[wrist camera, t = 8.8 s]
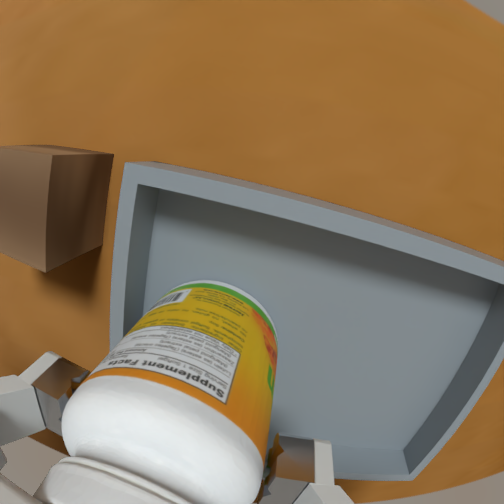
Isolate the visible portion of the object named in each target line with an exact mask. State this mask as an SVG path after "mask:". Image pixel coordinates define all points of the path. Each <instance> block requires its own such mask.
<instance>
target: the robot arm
mask: <svg viewBox="0 0 504 504" xmlns="http://www.w3.org/2000/svg"><path fill="white" fill-rule="evenodd" d="M90 374H91V372H90V371H88V370H86V369H84V368H82V367H80V366H78V365H77V364H75V363H73V362H71V361H69V360H67V359H65V358H63V357H61V356H59V355H57V354H56V353H54V352H52V351H49V352H46V353H45V354H44V355H42V356H41V357H40V358H39V359H38V360H37V361H35V362H34V363H33V364H32V365H31V366H30V367H28V368H27V369H26V370H25V371H24V372H23V373H22V374H20V375H19V376H16V375H10V376H5V377H0V446H2V445H5V444H8V443H10V442H13V441H16V440H19V439H21V438H24V437H26V436H29V435H32V434H34V433H37V432H39V431H42V430H44V429H46V428H48V429H49V430H51V431H53V432H55V433H57V434H58V435H60V436H62V437H63V435H62V415H63V411H64V409H65V406H66V404H67V402H68V401H69V399H70V397H71V396H72V395H73V394H74V392H75V391H76V390H77V388H78V387H79V386H80V385H81V383H82V382H83V381H84V380H85V379H86V378H87V377H88V376H89V375H90ZM45 427H46V428H45ZM6 463H7V459H6V457H5V455H4V453H3V451H2V449H1V448H0V470H1V469H2V468H3V466H4V465H5V464H6ZM262 479H263V480H264V481H263V483H262V485H261V487H260V489H259V495H258V502H257V504H354V502H353V501H352V500H351V499H350V498H349V497H348V495H347V494H346V493H345V492H344V491H343V489H342V488H341V487H340V486H337V485H335V484H334V470H333V457H332V445H331V442H330V441H329V440H321V439H314V438H309V437H302V436H296V435H290V434H285V433H279V432H278V433H277V434H276V436H275V438H274V440H273V447H272V448H270V449H269V450H268V453H267V455H266V458H265V464H264V471H263V477H262ZM0 504H43V503H42V502H40V501H38V500H37V499H35V498H34V497H32V496H31V495H29V494H28V493H27V492H25V491H24V490H22V489H21V488H19V487H18V486H17V485H15V484H14V483H13V482H11V481H10V480H9V479H7V478H6V477H5V476H3V475H2V474H1V473H0Z"/></svg>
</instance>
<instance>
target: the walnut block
mask: <svg viewBox="0 0 504 504" xmlns="http://www.w3.org/2000/svg"><path fill="white" fill-rule="evenodd" d="M113 157H114V154H110V153H104V152H98V151H91V150H84V149H77V148H70V147H62V146H54V145H16V146H0V252H1V253H3V254H5V255H7V256H9V257H11V258H14V259H16V260H18V261H20V262H22V263H25V264H27V265H29V266H31V267H34V268H36V269H38V270H40V271H43V272H45V273H46V272H48V271H50V270H52V269H54V268H56V267H58V266H60V265H62V264H64V263H66V262H68V261H70V260H72V259H74V258H76V257H78V256H80V255H82V254H84V253H86V252H88V251H90V250H92V249H95V248H97V247H99V246H101V245H103V233H104V223H105V213H106V205H107V197H108V189H109V182H110V175H111V169H112V163H113Z"/></svg>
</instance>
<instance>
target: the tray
mask: <svg viewBox="0 0 504 504" xmlns="http://www.w3.org/2000/svg"><path fill="white" fill-rule="evenodd" d="M198 280H213V281H219V282H223V283H227V284H230V285H232V286H235V287H237V288H239V289H241V290H243V291H245V292H246V293H248V294H249V295H251V296H252V297H253V298H255V299H256V300H257V301H258V302H259V303H260V304H261V305H262V306H263V307H264V309H265V310H266V311H267V313H268V314H269V316H270V317H271V319H272V321H273V324H274V326H275V329H276V333H277V338H278V358H277V367H276V377H275V385H274V394H273V403H272V411H271V420H270V428H269V435H268V443H267V450H266V455H267V453H268V450H269V449H270V448H272V447H273V440H274V438H275V436H276V434H277V433H278V432H279V433H285V434H290V435H296V436H302V437H309V438H314V439H321V440H329V441H330V442H331V445H332V457H333V470H334V478H338V479H351V480H373V481H409V480H413V479H414V478H415V477H416V476H417V475H418V474H419V473H420V472H421V471H422V470H423V469H424V468H425V467H426V466H427V464H428V463H429V462H430V461H431V460H432V459H433V458H434V457H435V455H436V454H437V453H438V452H439V451H440V450H441V448H442V447H443V446H444V445H445V444H446V442H447V441H448V440H449V439H450V437H451V436H452V435H453V434H454V432H455V431H456V430H457V428H458V427H459V426H460V425H461V423H462V422H463V421H464V419H465V418H466V416H467V415H468V414H469V412H470V411H471V409H472V408H473V407H474V405H475V404H476V402H477V401H478V399H479V398H480V396H481V395H482V393H483V392H484V390H485V389H486V387H487V385H488V384H489V382H490V381H491V379H492V377H493V376H494V374H495V372H496V371H497V369H498V367H499V366H500V364H501V362H502V360H503V358H504V261H502V260H499V259H497V258H494V257H492V256H489V255H487V254H484V253H481V252H479V251H476V250H474V249H471V248H468V247H466V246H463V245H460V244H457V243H455V242H452V241H449V240H446V239H443V238H441V237H438V236H435V235H432V234H429V233H426V232H423V231H420V230H417V229H414V228H411V227H408V226H405V225H402V224H399V223H396V222H393V221H390V220H387V219H383V218H380V217H377V216H374V215H370V214H367V213H364V212H361V211H357V210H354V209H350V208H347V207H344V206H340V205H337V204H333V203H330V202H326V201H322V200H319V199H315V198H312V197H308V196H304V195H300V194H297V193H293V192H289V191H285V190H281V189H277V188H273V187H269V186H265V185H261V184H257V183H253V182H249V181H245V180H240V179H236V178H232V177H227V176H223V175H219V174H214V173H209V172H205V171H200V170H195V169H191V168H186V167H181V166H176V165H171V164H166V163H160V162H155V161H154V162H125V166H124V172H123V178H122V185H121V191H120V198H119V206H118V214H117V222H116V231H115V241H114V252H113V264H112V280H111V301H110V352H111V351H112V350H113V349H114V347H115V346H116V345H117V344H118V343H119V342H120V341H121V340H122V339H123V337H124V336H125V335H126V334H127V333H128V332H129V331H130V330H131V329H132V328H133V327H134V326H135V324H136V323H137V322H138V321H139V320H140V319H141V318H142V317H143V316H144V315H145V314H146V313H147V312H148V311H149V309H150V308H151V307H152V306H153V305H154V304H155V303H156V302H157V301H158V300H159V299H160V298H161V297H163V296H164V295H165V294H166V293H167V292H169V291H170V290H171V289H173V288H175V287H177V286H179V285H181V284H184V283H188V282H192V281H198ZM265 458H266V457H265Z"/></svg>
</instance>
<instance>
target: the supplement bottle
mask: <svg viewBox="0 0 504 504" xmlns="http://www.w3.org/2000/svg"><path fill="white" fill-rule="evenodd" d="M277 358H278V338H277V333H276V329H275V326H274V324H273V321H272V319H271V317H270V316H269V314H268V313H267V311H266V310H265V309H264V307H263V306H262V305H261V304H260V303H259V302H258V301H257V300H256V299H255V298H253V297H252V296H251V295H249V294H248V293H246V292H245V291H243V290H241V289H239V288H237V287H235V286H232V285H230V284H227V283H223V282H219V281H213V280H198V281H192V282H188V283H184V284H181V285H179V286H177V287H175V288H173V289H171V290H170V291H169V292H167V293H166V294H165V295H164V296H163V297H161V298H160V299H159V300H158V301H157V302H156V303H155V304H154V305H153V306H152V307H151V308H150V309H149V311H148V312H147V313H146V314H145V315H144V316H143V317H142V318H141V319H140V320H139V321H138V322H137V323H136V324H135V326H134V327H133V328H132V329H131V330H130V331H129V332H128V333H127V334H126V335H125V336H124V337H123V339H122V340H121V341H120V342H119V343H118V344H117V345H116V346H115V347H114V349H113V350H112V351H111V352H110V353H109V354H108V355H107V356H106V357H105V358H104V359H103V361H102V362H101V363H100V364H99V365H98V366H97V367H96V368H95V369H94V370H93V372H92V373H91V374H90V375H89V376H88V377H87V378H86V379H85V380H84V381H83V382H82V383H81V385H80V386H79V387H78V388H77V390H76V391H75V392H74V394H73V395H72V396H71V397H70V399H69V401H68V402H67V404H66V406H65V409H64V411H63V415H62V435H63V440H64V443H65V446H66V448H67V450H68V453H69V455H70V456H71V457H65V458H62V459H61V460H60V461H59V462H58V463H57V464H55V465H53V466H52V467H51V469H50V470H49V472H48V474H47V476H46V477H45V479H44V480H43V482H42V484H41V485H40V487H39V488H38V489H37V491H36V492H35V494H34V495H33V497H34V498H35V499H37V500H38V501H40V502H42V503H43V504H252V503H253V501H254V500H255V499H256V497H257V495H258V492H259V489H260V486H261V481H262V477H263V471H264V464H265V457H266V450H267V443H268V435H269V428H270V420H271V411H272V403H273V394H274V385H275V377H276V367H277Z"/></svg>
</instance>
